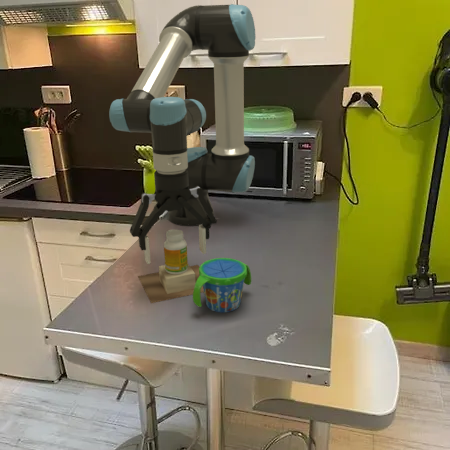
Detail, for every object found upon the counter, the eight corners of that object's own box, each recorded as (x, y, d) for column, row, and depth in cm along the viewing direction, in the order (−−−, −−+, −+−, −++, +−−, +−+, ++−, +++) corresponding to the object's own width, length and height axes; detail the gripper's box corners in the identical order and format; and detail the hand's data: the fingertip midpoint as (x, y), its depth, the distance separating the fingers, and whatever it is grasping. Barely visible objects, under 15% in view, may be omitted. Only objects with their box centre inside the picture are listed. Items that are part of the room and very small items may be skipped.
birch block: (159, 280, 120) (158, 266, 118) (186, 275, 122) (186, 261, 120) (167, 294, 114) (166, 278, 112) (195, 288, 116) (195, 273, 114)
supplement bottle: (184, 275, 113) (182, 237, 110) (162, 274, 114) (159, 236, 111) (190, 265, 118) (188, 228, 114) (169, 263, 119) (167, 227, 115)
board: (138, 280, 122) (137, 276, 122) (198, 268, 128) (197, 264, 127) (151, 307, 110) (151, 303, 110) (216, 293, 116) (216, 289, 115)
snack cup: (237, 288, 118) (237, 250, 114) (264, 306, 110) (265, 266, 106) (182, 308, 110) (179, 268, 106) (207, 330, 102) (206, 287, 98)
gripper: (117, 181, 99) (126, 272, 107) (229, 167, 108) (230, 253, 116) (111, 172, 106) (120, 259, 114) (217, 160, 114) (219, 241, 122)
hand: (175, 256), depth 115 cm, fingers open, 13 cm apart
